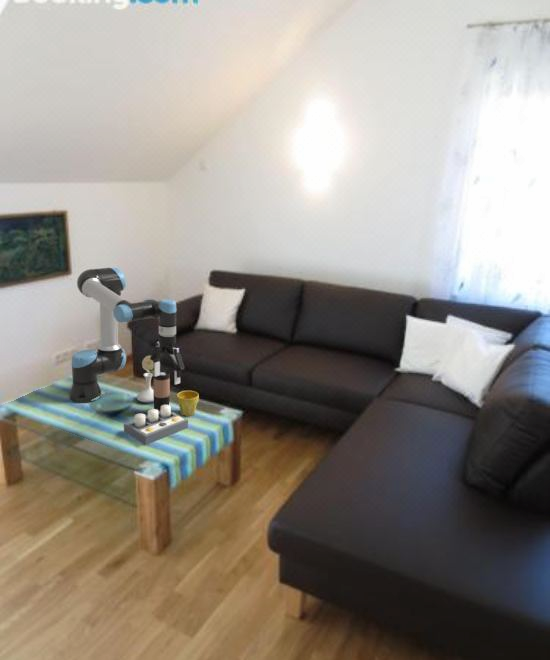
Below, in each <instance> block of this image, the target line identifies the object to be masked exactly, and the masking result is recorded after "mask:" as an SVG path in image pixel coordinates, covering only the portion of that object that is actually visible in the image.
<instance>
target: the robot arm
mask: <svg viewBox="0 0 550 660" xmlns="http://www.w3.org/2000/svg"><path fill="white" fill-rule="evenodd" d="M76 286H77V288H78V291H79V292H80V293H81V294H82V295H83V296H85V297H87V298H92V299H93V300H95V301H96V302H98V303H99V323H100V326H99V328H100V329H99V330H100V332H99V333H100V335H99V336H100V337H99V338H100V343H99V345H97V351H96V350H93V349H84V350H83V349H82V350H80V351H77V352H75V353H74V354H73V355H72V357H71V364H70V365H71V373H72V374H71V375H72V376H71V377H72V384H71V387H70V390H69V393H68V395H69V396H68V397H69V399H70V401H72V402H75V403H80V404H81V403H82V404H83V403H91V402H90V401H91V400H92V399H94V398H96V397H98V396H100V395H101V396H102V389H101V387H100V384H99V382H98V376H100V375H103V374H107V373H112V372H117V371H120V370H122V369H123V368H124V367H125V365H126V363H127V354H126V351H125V350H124V348H122V345H121V344H120V343H119V323H129V322H134V321H140V320H147V319H152V318H154V319H155V320H156V319H157V320H158V341H156V342H155V343H154V348H153V350H152V353H151V354H150V356H151V357H150V359H151V360H153V362H154V367H153V370H154V375H153V377H154V376H155V377H156V376H159V375H160V370H161V361H160V360H161V358H162V357H163V356H164V355H165V356H167V357H168V358H169V359H170V360H171V362H172V364H173V366H174V369H175V370H174V385H178V384H181V377H182V371H184V370H186V367H185V364H184V360H183V358H182V354H181V348H180V347H175V344H176V342H177V310H178V309H177V302H176V301H175V300H174V299H169V298H163V299H160V300H159V301H158V300H155V299H151V298H145V299H144V300H142V301H140V302H132V303H131V302H130V301H128V300H126V299H125V298H124V297H122V292H123V291H124V290H125V288H126V287H127V280H126V277H125V275H124V273H123V271H122V270H121V269H120V268H118V267H104V268H90V269H87V270H86V269H85V270H84V271H82V272H81V273H80V274H79V276H78V277H77V282H76Z"/></svg>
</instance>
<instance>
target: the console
mask: <svg viewBox="0 0 550 660" xmlns="http://www.w3.org/2000/svg"><path fill="white" fill-rule="evenodd" d="M160 416H161V411H158V422H156V423H153V424H151V423H149V422H148V414H146V415H145V427H143V428H140V429H138V428H136V427H135V419H132V420H130V421H127V422H124V423H123V432H124V433H126V434H127V435H128V434H129V435H128V436H131V437H132V438H133V439H135V440H137V441H139V442H140V443H141V444H143V445H145V446H147V445H149V444H152V443H155V442H157V441H159V440H162V439H164V438H167V437H169V436H172V435H174V434H177V433H179V432H181V431H182V432H183V431H184V430H187V429H188V428H189V419H186V418H185V417H183V416H181V415H179V414H177V413H175V412H174V411H171V417H169V418H167V419H163V418H161V417H160ZM177 416H179V417H181V418H183V419H185V420H183V421H180V422H178V423H175V424H172V425H170V426H167V427H165V428H162V429H159V430H157V431H154V432H152V433H149V434H144V433H142V432H141V431H140V430H142V429H145V428H148V427H150V426H153V425H156V424H158V423H161V422H164V421H166V420H169V419H172V418H174V417H177Z"/></svg>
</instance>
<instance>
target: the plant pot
mask: <svg viewBox="0 0 550 660" xmlns="http://www.w3.org/2000/svg"><path fill="white" fill-rule="evenodd" d="M199 396H200V395H199V392H197V391H194V390H182V391H180V392H178V393H177V395H176V402H177V403H178V407H179V410H180V415H183V416H184V415H185V416H184V417H190V416H194V414H195V413H196V408H197V404H198V403H199V401H200V397H199Z"/></svg>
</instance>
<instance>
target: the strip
mask: <svg viewBox="0 0 550 660" xmlns="http://www.w3.org/2000/svg"><path fill="white" fill-rule="evenodd" d="M179 416H180V415H179ZM179 416H177V417H174V418H172V419H169V420H166V421H164V422H161V423H158V424H156V425H153V426H150V427H148V428H145V429H142V430H140V431H141V432H142V433H144V434H149V433H152V432H154V431H157V430H159V429H162V428H165V427H167V426H170V425H172V424H175V423H178V422H180V421H183V420H185V419H186V418H185V419H183V418H184V417H183V418H181V417H182V416H181V417H179Z"/></svg>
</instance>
